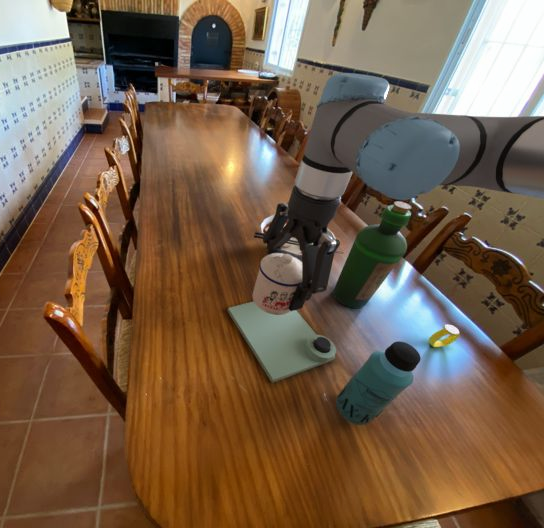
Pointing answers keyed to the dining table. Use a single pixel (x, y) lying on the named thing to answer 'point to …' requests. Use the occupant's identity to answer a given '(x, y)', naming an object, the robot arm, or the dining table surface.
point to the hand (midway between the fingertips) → (280, 291)
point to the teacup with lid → (277, 283)
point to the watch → (446, 330)
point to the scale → (279, 341)
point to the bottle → (373, 257)
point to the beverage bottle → (378, 383)
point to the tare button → (322, 344)
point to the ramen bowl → (290, 246)
